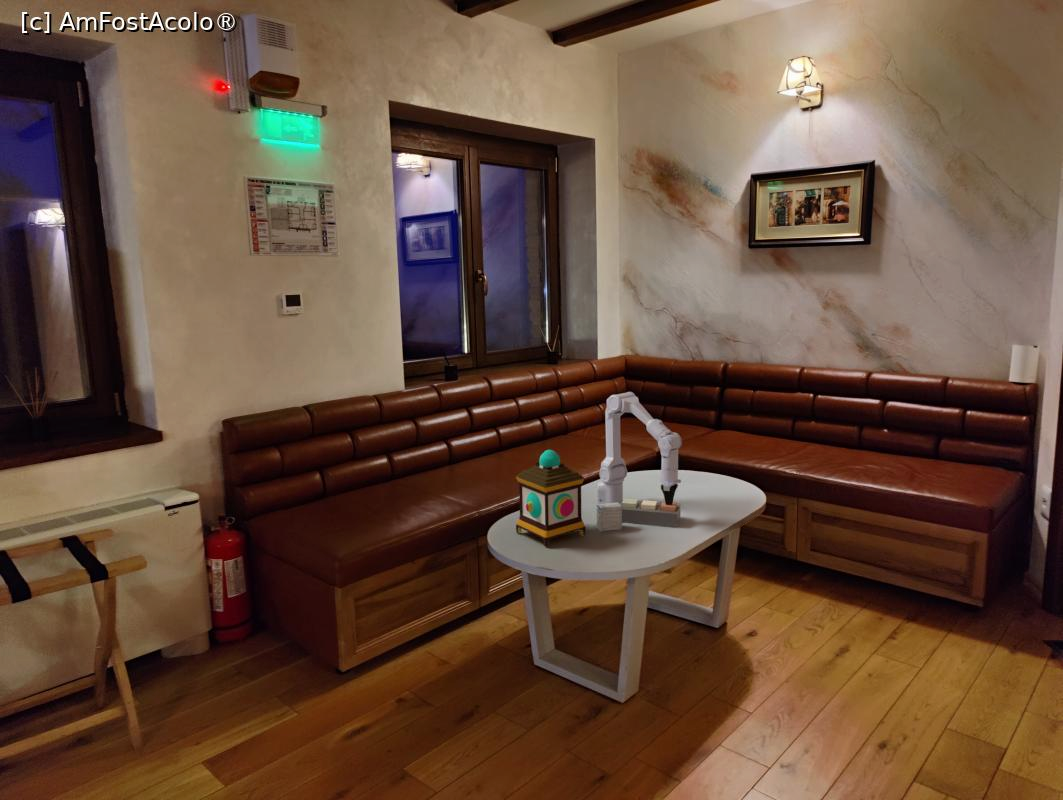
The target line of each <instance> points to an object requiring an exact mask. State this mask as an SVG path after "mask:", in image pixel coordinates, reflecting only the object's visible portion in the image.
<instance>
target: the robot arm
mask: <svg viewBox="0 0 1063 800" xmlns="http://www.w3.org/2000/svg"><path fill="white" fill-rule="evenodd" d="M625 413H630V414H632V415H634V416H635V417H636V418H637V419H638V420H639V421H641V423H643V424H644V425H645V426H646V428H645V429H646V431H647V432H648V434H650V435H651V436H652V438H654V440H655V441H656V442H657V446H658V448H659V450H660V455H661V467H660V468H661V469H660V470H661V471H660V483H661V485H660V489H661V491H662V494H663V499H664V502H665V503H666V505H672V503H674V498H675V493H676V491H677V489H678V487H679V484H680V483H681V482H682V479H678V477H679V476H678V475H679V449H680V448H681V447H682V444H683V442H682V440H683V439H682V437H681V436H680V435H679V433H677V432H673V431H671V429H669V428H668V427H667V426H666V425H665V424H664V423H663V421H662V420H661V419H658V418H654V417H653V416H652V415H651V414H650V413H649V412H648V411H647V410H646V408H645V407H644V406H643V405H642V404H641V403H640V401H639V397H638V396H636V395H635V393H634V392H632V391H627V392H623V393H619V394H612V395H610V396H609V397H608V398H607V399H606V408H605V412H604V414H605V453H606V454H605V455H606V456H605V458H604V459H603V460H602V461H601V463H600V469H599V478H600V480H599V481H598V484H597V504H605V503H619V504H621V502H622V501H623V500H624V497H623V495H624V494H623V493H624V492H623V491H624V489H623V488H624V484H623V483H624V481H625V478H626V477H627V475H628V469H627V467H626V460H625V459H624V458H623V457H622V455H621V454H622V453H621V451H622V448H621V442H622V441H621V416H623V414H625Z"/></svg>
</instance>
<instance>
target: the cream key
mask: <svg viewBox="0 0 1063 800" xmlns="http://www.w3.org/2000/svg"><path fill="white" fill-rule="evenodd" d="M641 502H642V504H641V509H648V510H656V509H657V503H658V501H657V500H647V499H646V500H645V499H643V500H642V501H641Z"/></svg>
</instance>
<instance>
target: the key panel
mask: <svg viewBox="0 0 1063 800" xmlns="http://www.w3.org/2000/svg"><path fill="white" fill-rule="evenodd" d="M642 502H643V501H639V500H638V506H637V508H625V507H622V523H623V524H624V523H625V524H633V525H643V526H644V525H645V526H656V527H667V528H676V529H677V528H678V527H679V523H680V520H681V511H682V510H681V509H682V508H681V507H682V506H681V505H682V504H677V511H676V512H672V511H661V505H662V503H663V502H662V503H660V502H657V509H656V510H648V509H641V504H642ZM620 505H621V506H622V502H621V504H620Z"/></svg>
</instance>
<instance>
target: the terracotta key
mask: <svg viewBox="0 0 1063 800" xmlns="http://www.w3.org/2000/svg"><path fill="white" fill-rule="evenodd" d="M677 505H678V502H673V503H672V505H666V503H665V501H662V505H661V511H672V512H676V511H677Z"/></svg>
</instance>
